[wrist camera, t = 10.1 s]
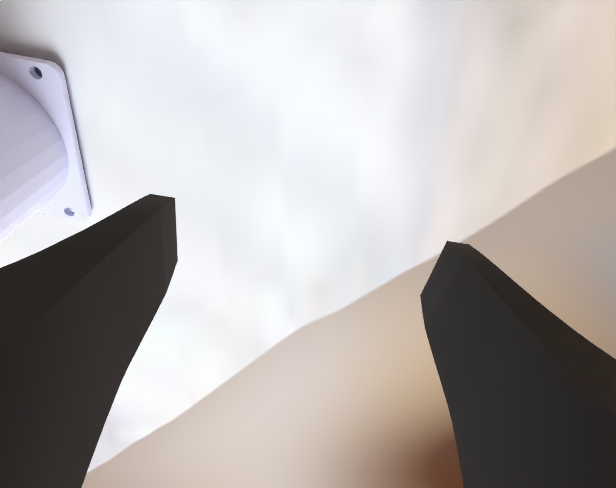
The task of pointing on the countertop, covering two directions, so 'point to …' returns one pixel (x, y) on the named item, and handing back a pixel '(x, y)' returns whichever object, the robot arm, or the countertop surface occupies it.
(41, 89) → the robot arm
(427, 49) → the countertop surface
